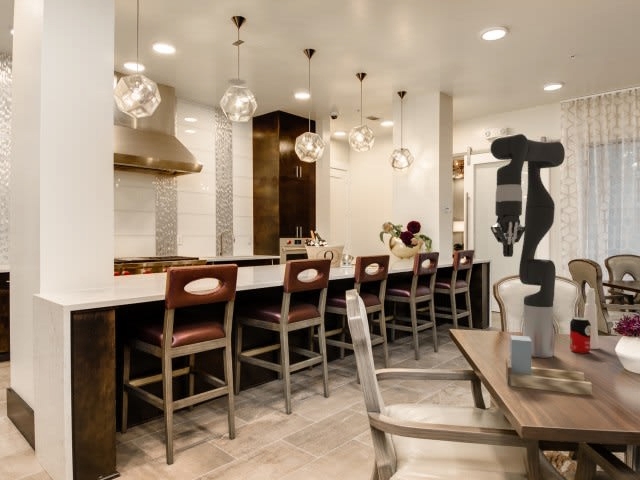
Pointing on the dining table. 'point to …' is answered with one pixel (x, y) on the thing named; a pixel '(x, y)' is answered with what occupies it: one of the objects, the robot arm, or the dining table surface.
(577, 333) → the beverage can
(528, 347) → the block
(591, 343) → the cosmetic bottle
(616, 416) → the dining table surface
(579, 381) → the wooden tray frame
